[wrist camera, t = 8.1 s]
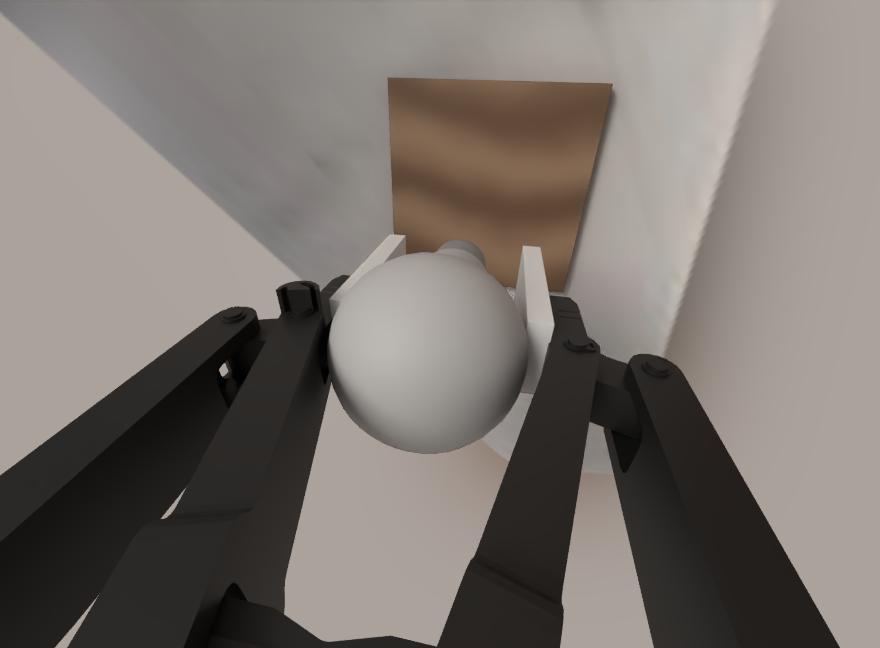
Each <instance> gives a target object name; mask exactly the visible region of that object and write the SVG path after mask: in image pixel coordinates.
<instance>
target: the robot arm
mask: <svg viewBox="0 0 880 648" xmlns="http://www.w3.org/2000/svg"><path fill="white" fill-rule="evenodd" d="M402 255H406V235H394V234H389V236H388V237H387V238H386V239H385V240H384V241H383V242H382V243H381V244H380V245H379V246H378V247H377V248H376V249H375V251H374V252H373V253H372V254H371V255H370V256H369V257H368V258H367V259H366V260H365V261H364V262H363V263H362V264H361V265H360V267H359V268H358V269H357V270H356V271H355V272H354V273H353V274H352V275H351V276H347V275H342V276H340V277H337V278H335V279H333V280H332V281H331V282H330V283H329V284H328V285H327V287H325V288H324V289H323V290H322V292H320V289H319V285H317V284H316V283H314V282H311V281H294V282H290V283H286V284H284V285H282V286H280V287H279V288H278V289H277V290H276V292H277V296H278V300H279V304H280V309H281V315H280V316H279V318H278V319H263V320H258V317H257V313H256V311H255V310H254V309H252V308H249V307H234V308H233V307H231V308H228V309H226V310H223V311H221V312H219V313H217V314H216V315H214V316H212V317H211V318H210V319H208V320H207V321H206V322H204V323H203V324H202V325H200V326H199V327H198V328H196V329H195V330H194V331H192V332H191V333H190V334H188V335H187V336H186V337H184V338H183V339H182V340H180V341H179V342H178V343H177V344H175V345H174V346H173V347H171V348H170V349H168V350H167V351H166V352H165V353H163V354H162V355H160V356H159V357H158V358H156V359H155V360H154V361H153V362H151V363H150V364H149V365H147V366H146V367H144V368H143V369H142V370H140V371H139V372H138V373H136V374H135V375H134V376H132V377H131V378H130V379H129V380H127V381H126V382H124V383H123V384H122V385H121V386H119V387H118V388H116V389H115V390H114V391H112V392H111V393H110V394H109V395H107V396H106V397H105V398H103V399H102V400H100V401H99V402H98V403H96V404H95V405H94V406H93V407H91V408H90V409H88V410H87V411H86V412H84V413H83V414H82V415H80V416H79V417H78V418H77V419H75V420H74V421H72V422H71V423H70V424H68V425H67V426H66V427H64V428H63V429H62V430H60V431H59V432H58V433H56V434H55V435H54V436H52V437H51V438H50V439H48V440H47V441H46V442H44V443H43V444H42V445H40V446H39V447H38V448H37V449H35V450H34V451H32V452H31V453H30V454H28V455H27V456H26V457H24V458H23V459H22V460H20V461H19V462H18V463H16V464H15V465H14V466H12V467H11V468H10V469H8V470H7V471H6V472H4V473H3V474H2V475H0V648H55V647H56V645H57V644H58V643H59V642H60V641H61V640H62V638H63V637H64V636H65V635H66V634H67V633H68V631H69V630H70V629H71V628H72V627H73V626H74V625H75V623H76V622H77V621H78V620H79V618H80V617H81V616H82V615H83V614H84V612H85V611H86V610H87V609H88V607H89V606H90V605H91V604H92V602H93V601H94V600H95V599H96V598H97V599H96V601H95V602H94V604H93V606H92V607H91V609H90V611H89V612H88V614H87V616H86V618H85V619H84V621H83V622H82V624H81V626H80V627H79V629H78V631H77V632H76V634H75V636H74V637H73V639H72V641H71V642H70V644H69V646H68V647H67V648H560V643H561V635H562V627H563V613H564V612H563V611H564V609H563V606H562V590H563V583H564V577H565V571H566V564H567V558H568V552H569V545H570V539H571V533H572V527H573V519H574V514H575V508H576V501H577V495H578V489H579V483H580V476H581V470H582V464H583V458H584V451H585V445H586V439H587V432H588V426H589V422H592V423H595V424H597V425H600V426H602V427H604V434H605V438H606V442H607V447H608V451H609V455H610V460H611V464H612V468H613V473H614V477H615V481H616V485H617V490H618V494H619V498H620V503H621V507H622V511H623V516H624V520H625V524H626V529H627V533H628V537H629V541H630V546H631V550H632V555H633V559H634V563H635V568H636V572H637V576H638V581H639V585H640V589H641V593H642V598H643V602H644V607H645V611H646V615H647V619H648V624H649V628H650V633H651V637H652V641H653V645H654V648H840V647H839V645H838V644H837V642H836V640H835V638H834V637H833V635H832V633H831V631H830V630H829V628H828V626H827V624H826V622H825V621H824V619H823V617H822V615H821V614H820V612H819V610H818V608H817V607H816V605H815V603H814V602H813V600H812V598H811V596H810V595H809V593H808V591H807V589H806V588H805V586H804V584H803V582H802V581H801V579H800V577H799V575H798V574H797V572H796V570H795V568H794V567H793V565H792V563H791V562H790V560H789V558H788V556H787V554H786V553H785V551H784V549H783V547H782V546H781V544H780V542H779V540H778V539H777V537H776V535H775V533H774V532H773V530H772V528H771V526H770V525H769V523H768V521H767V519H766V518H765V516H764V514H763V512H762V511H761V509H760V507H759V505H758V504H757V502H756V500H755V498H754V497H753V495H752V493H751V491H750V490H749V488H748V487H747V485H746V483H745V481H744V479H743V477H742V476H741V474H740V472H739V471H738V469H737V467H736V465H735V463H734V462H733V460H732V458H731V457H730V455H729V453H728V451H727V450H726V448H725V446H724V444H723V442H722V441H721V439H720V437H719V435H718V434H717V432H716V430H715V429H714V427H713V425H712V423H711V422H710V420H709V418H708V416H707V415H706V413H705V411H704V410H703V408H702V406H701V404H700V402H699V401H698V399H697V397H696V395H695V394H694V392H693V390H692V388H691V387H690V385H689V383H688V381H687V380H686V378H685V376H684V374H683V373H682V372H681V370H680V369H679V368H678V367H677V366H676V365H674V364H673V363H672V362H670V361H668V360H667V359H665V358H662V357H659V356H655V355H650V354H638V355H634V356H633V357H632V358H631V359H630V361H629V363H628V364H627V363H623V362H620V361H617V360H614V359H611V358H608V357H606V356H604V355H602V354H600V347H599V345H598V344H597V343H596V342H595V341H594V340H592V339H591V338H589V337H587V333H586V330H585V327H584V324H583V321H582V318H581V314H580V311H579V308H578V305H577V304H576V303H575V302H574V301H573V300H572V299H571V298H569V297H559V296H550V295H549V292H548V287H547V281H546V276H545V270H544V265H543V259H542V254H541V248H540V247H533V246H523V248H522V254H521V261H520V267H519V273H518V279H517V286H516V292H515V298H514V302H515V304H516V306H517V308H518V310H519V312H520V315H521V317H522V320H523V323H524V325H525V328H526V335H527V343H528V365H527V373H526V376H525V379H524V383H523V386H522V388H521V391H520V392H522V393H529V394H534V396H533V398H532V401H531V404H530V407H529V409H528V412H527V415H526V418H525V420H524V423H523V426H522V428H521V431H520V434H519V437H518V439H517V442H516V445H515V448H514V450H513V453H512V456H511V459H510V461H509V464H508V467H507V470H506V472H505V475H504V478H503V480H502V483H501V486H500V489H499V491H498V494H497V497H496V500H495V502H494V505H493V508H492V511H491V513H490V516H489V519H488V521H487V524H486V527H485V530H484V533H483V535H482V538H481V541H480V543H479V546H478V549H477V551H476V553H475V556H474V557H473V558H472V560H470V563H469V565H468V567H467V569H466V571H465V574H464V576H463V579H462V581H461V584H460V587H459V589H458V592H457V595H456V597H455V600H454V603H453V606H452V608H451V611H450V614H449V616H448V619H447V621H446V624H445V627H444V629H443V632H442V635H441V637H440V640H439V643H438V645H437V647H436V646H432V645H427V644H423V643H419V642H415V641H411V640H407V639H402V638H398V637H394V636H384V637H374V638H364V639H354V640H345V641H335V642H325V641H322V640H320V639H318V638H317V637H316V636H314V635H313V634H311V633H309V632H308V631H307V630H305V629H304V628H303V627H301V626H300V625H298V624H297V623H296V622H294V621H293V620H291V619H290V618H288V617H287V616H286V615H284V608H285V592H284V587H285V578H286V573H287V568H288V564H289V560H290V556H291V551H292V547H293V543H294V539H295V534H296V530H297V526H298V522H299V517H300V513H301V509H302V505H303V500H304V496H305V492H306V488H307V483H308V479H309V475H310V471H311V466H312V462H313V458H314V454H315V449H316V445H317V441H318V437H319V432H320V428H321V424H322V420H323V415H324V411H325V407H326V402H327V398H328V394H329V390H330V385H331V377H330V373H329V368H328V363H327V345H328V338H329V333H330V329H331V325H332V320H333V318H334V316H335V313H336V311H337V309H338V307H339V305H340V303H341V301H342V300H343V298H344V296H345V295H346V293H347V292H348V291H349V290H350V289H351V288H352V287H353V286H354V285H355V284H356V282H357V281H358V280H359V279H360V278H361V277H362V276H363V275H364V274H366V273H367V272H369V271H370V270H372V269H373V268H375V267H376V266H378V265H380V264H382V263H385V262H387V261H389V260H392V259H395V258H397V257H400V256H402ZM224 363H225V364H226V366H227V369H228V371H229V372H228V373H227V374H226V375H225V376H223V377H222V376H221V374H220V372H219V369H220V367H221V366H222V364H224ZM186 487H187V488H186ZM185 488H186V489H185ZM184 489H185V491H184V493H183V495H182V497H181V499H180V500H179V502H178V504H177V506H176V508H175V509H174V511H173V512H172V513H171V515H169V516H168V517H167V518H165V519H161V518H162V516H163V515H164V514H165V513H166V511H167V510H168V509H169V507H170V506H171V505H172V504H173V503H174V501H175V500H176V499H177V498H178V497H179V495H180V494H181V493H182V491H183V490H184ZM98 595H99V596H98ZM97 596H98V597H97Z"/></svg>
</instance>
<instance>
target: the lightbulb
mask: <svg viewBox="0 0 880 648" xmlns="http://www.w3.org/2000/svg"><path fill="white" fill-rule="evenodd" d="M327 363H328V368H329V373H330V377H331V381H332V385H333V388H334V390H335V392H336V394H337V397H338V399H339V401H340V402H341V405H342V407H343V409H344V410H345V411H346V413H347V414H348V415H349V417H350V418H351V419H352V420H353V421H354V422H355V423H356V424H357V425H358V426H359V427H360V428H361V429H362V430H364V431H365V432H366V433H367V434H369V435H370V436H372V437H374V438H375V439H377V440H379V441H381V442H382V443H384V444H386V445H389V446H391V447H394V448H397V449H400V450H404V451H408V452H415V453H422V454H437V453H444V452H450V451H453V450H456V449H459V448H462V447H464V446H466V445H469V444H471V443H473V442H475V441H476V440H479V439H480V438H482V437H484V436H485V435H486V434H487V433H488V432H490V431H491V430H492V429H493V428H495V427H496V426H497V425H498V424H499V423H500V422H502V421H503V419H504V418H505V417H506V415H507V414H508V413H509V411H510V410H511V408H512V407H513V405H514V403H515V402H516V400H517V398H518V396H519V393H520V391H521V388H522V386H523V383H524V379H525V376H526V373H527V365H528V343H527V335H526V328H525V325H524V323H523V320H522V317H521V315H520V312H519V310H518V308H517V306H516V304H515V302H514V301H513V299H512V298H511V296H510V295H509V293H508V292H507V290H506V289H505V288H504V287H503V286H502V285H501V284H500V283H499V282H498V281H497V280H496V279H495V278H494V277H493V276H492V275H491V274H489V273H488V272H487V271H486V262H485V257H484V255H483V253H482V251H481V250H480V249H479V248H478V247H477V246H476V245H475V244H473V243H472V242H469V241H467V240H462V239H456V240H451V241H449V242H447V243H445V244H443V245H442V246H441V247H440V248H439V249H438V250H437V252H435V253H429V252H420V253H413V254H407V255H402V256H400V257H397V258H395V259H392V260H389V261H387V262H385V263H382V264H380V265H378V266H376V267H375V268H373V269H372V270H370V271H369V272H367V273H366V274H364V275H363V276H362V277H361V278H360V279H359V280H358V281H357V282H356V284H355V285H354V286H353V287H352V288H351V289H350V290H349V291H348V292H347V293H346V295H345V296H344V298H343V300H342V301H341V303H340V305H339V307H338V309H337V311H336V313H335V316H334V318H333V320H332V325H331V329H330V333H329V338H328V345H327Z"/></svg>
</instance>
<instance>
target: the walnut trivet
mask: <svg viewBox="0 0 880 648" xmlns="http://www.w3.org/2000/svg"><path fill="white" fill-rule="evenodd" d="M612 86H613V84H607V83H569V82H531V81H493V80H455V79H417V78H388V96H389V121H390V145H391V170H392V195H393V219H394V235H406V255H407V254H413V253H420V252H429V253H435V252H437V250H438V249H439V248H440V247H441V246H442V245H443V244H445V243H447V242H449V241H451V240H456V239H462V240H467V241H469V242H472V243H473V244H475V245H476V246H477V247H478V248H479V249H480V250H481V251H482V253H483V255H484V257H485V262H486V271H487V272H488V273H489V274H491V275H492V276H493V277H494V278H495V279H496V280H497V281H498V282H499V283H500V284H501V285H502V286H507V287H516V286H517V279H518V273H519V267H520V261H521V254H522V248H523V246H533V247H540V248H541V254H542V259H543V265H544V270H545V276H546V281H547V287H548V291H556V292H563V291H564V286H565V282H566V278H567V274H568V270H569V265H570V261H571V257H572V253H573V249H574V245H575V240H576V236H577V232H578V228H579V224H580V220H581V215H582V211H583V207H584V203H585V199H586V194H587V190H588V186H589V182H590V178H591V174H592V169H593V165H594V161H595V157H596V153H597V148H598V144H599V140H600V136H601V132H602V128H603V123H604V119H605V115H606V111H607V107H608V102H609V98H610V94H611V90H612Z"/></svg>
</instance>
